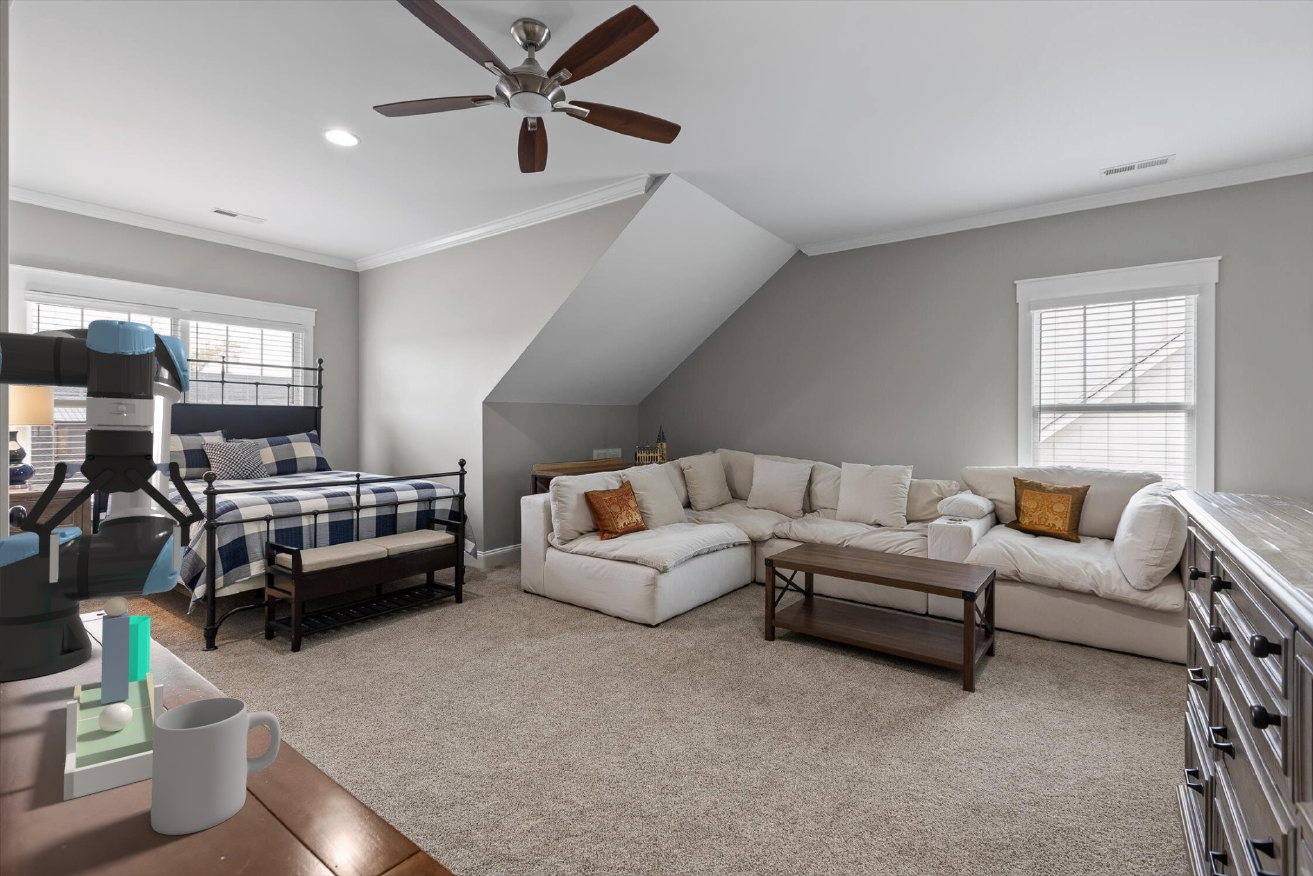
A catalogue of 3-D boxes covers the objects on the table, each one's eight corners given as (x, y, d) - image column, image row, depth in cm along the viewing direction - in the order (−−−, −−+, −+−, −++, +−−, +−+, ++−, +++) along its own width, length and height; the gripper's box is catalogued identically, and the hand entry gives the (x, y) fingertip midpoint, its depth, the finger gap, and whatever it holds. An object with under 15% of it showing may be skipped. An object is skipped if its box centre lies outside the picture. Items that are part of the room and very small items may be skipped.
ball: (98, 729, 84) (98, 703, 84) (132, 722, 87) (132, 696, 87) (97, 739, 82) (98, 712, 82) (133, 731, 84) (133, 705, 84)
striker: (101, 697, 93) (102, 596, 93) (127, 692, 95) (129, 593, 95) (101, 704, 91) (102, 600, 91) (128, 699, 93) (130, 597, 93)
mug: (156, 847, 64) (158, 738, 64) (145, 810, 70) (147, 711, 70) (289, 801, 73) (291, 705, 73) (269, 771, 79) (271, 683, 79)
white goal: (66, 776, 77) (67, 701, 77) (161, 753, 83) (163, 683, 82) (63, 801, 72) (64, 721, 72) (165, 774, 78) (166, 700, 78)
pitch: (74, 705, 96) (75, 685, 96) (151, 690, 101) (151, 672, 101) (66, 776, 77) (66, 751, 77) (161, 753, 83) (161, 730, 82)
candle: (93, 687, 102) (94, 612, 102) (135, 674, 108) (136, 603, 108) (115, 693, 100) (117, 617, 100) (157, 680, 106) (159, 608, 106)
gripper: (-7, 427, 82) (-9, 592, 82) (226, 430, 98) (224, 568, 98) (0, 426, 87) (-2, 580, 88) (220, 429, 104) (217, 559, 104)
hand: (118, 574), depth 93 cm, fingers open, 13 cm apart
